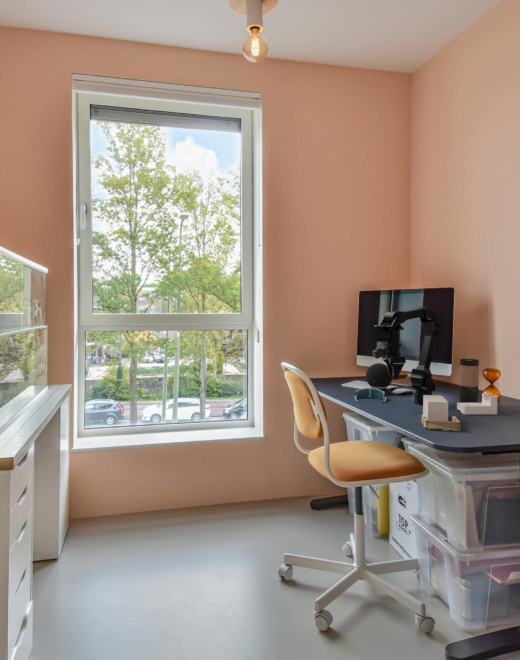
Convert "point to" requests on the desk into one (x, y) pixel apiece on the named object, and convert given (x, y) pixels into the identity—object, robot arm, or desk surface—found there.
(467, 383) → the travel mug
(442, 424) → the birch slot
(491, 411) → the bracket
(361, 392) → the sunglasses
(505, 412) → the desk surface
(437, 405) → the white cardboard box
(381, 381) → the black ball on stand
